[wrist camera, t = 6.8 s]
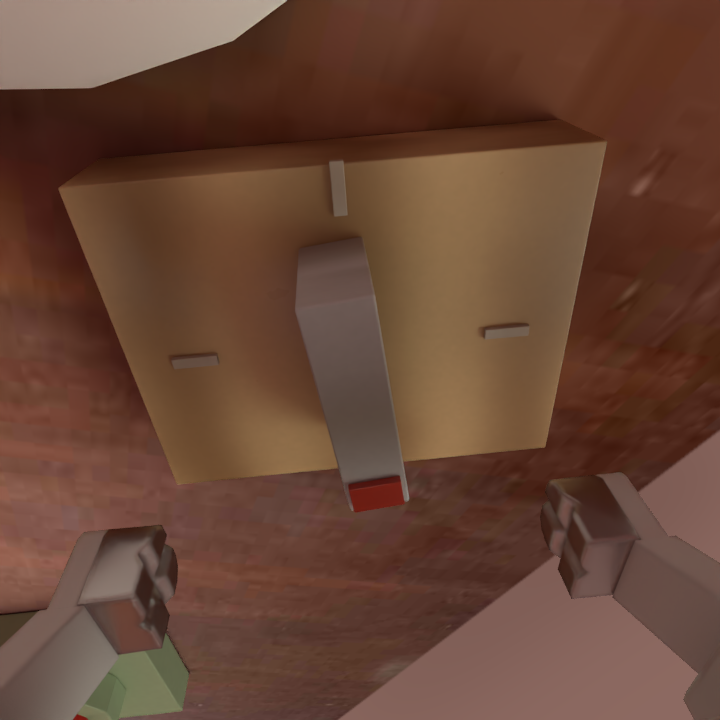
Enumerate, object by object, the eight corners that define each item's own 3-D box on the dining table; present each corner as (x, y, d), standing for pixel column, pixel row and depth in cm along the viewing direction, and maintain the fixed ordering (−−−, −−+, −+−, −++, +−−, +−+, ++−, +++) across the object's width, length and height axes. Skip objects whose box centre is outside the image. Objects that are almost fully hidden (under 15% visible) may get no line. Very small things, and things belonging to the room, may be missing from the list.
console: (192, 432, 21) (176, 490, 19) (97, 154, 15) (52, 185, 12) (519, 399, 22) (546, 452, 19) (561, 115, 15) (612, 137, 13)
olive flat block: (20, 692, 33) (-12, 767, 30) (-53, 620, 28) (-102, 701, 25) (189, 673, 33) (175, 746, 30) (147, 599, 28) (126, 676, 25)
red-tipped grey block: (297, 247, 14) (293, 315, 11) (362, 235, 14) (376, 300, 11) (344, 431, 18) (350, 518, 15) (394, 422, 18) (410, 507, 15)
